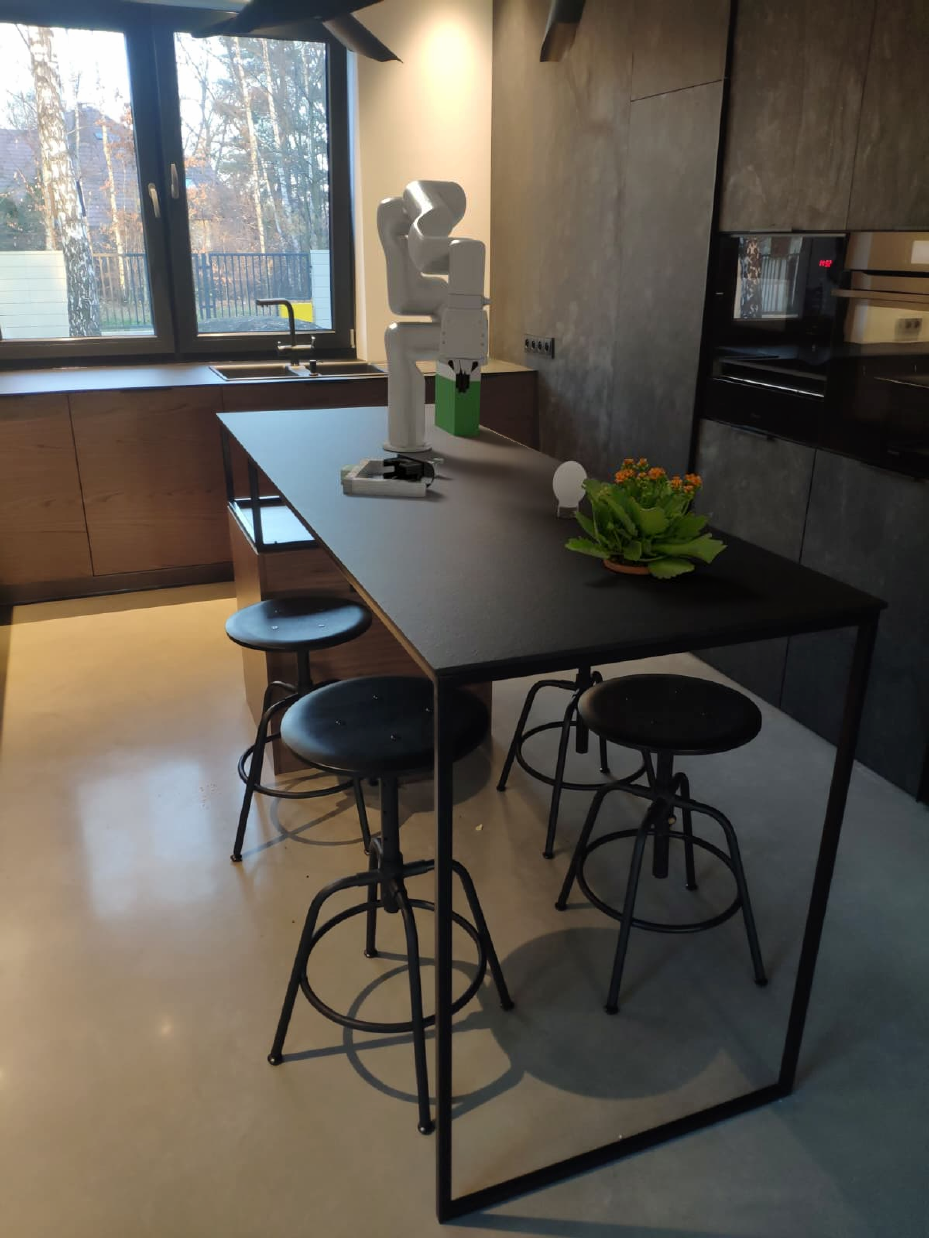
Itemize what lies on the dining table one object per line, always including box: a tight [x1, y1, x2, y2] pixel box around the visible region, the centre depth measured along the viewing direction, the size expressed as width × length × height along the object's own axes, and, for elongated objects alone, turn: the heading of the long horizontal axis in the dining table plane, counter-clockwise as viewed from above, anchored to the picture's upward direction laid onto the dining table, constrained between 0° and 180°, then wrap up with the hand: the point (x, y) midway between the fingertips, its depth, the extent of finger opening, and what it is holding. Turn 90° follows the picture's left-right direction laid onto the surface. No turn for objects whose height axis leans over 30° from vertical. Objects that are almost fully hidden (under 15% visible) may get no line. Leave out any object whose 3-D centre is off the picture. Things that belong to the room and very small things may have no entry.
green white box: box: [434, 359, 482, 437], centre depth 270 cm, size 18×7×24 cm, turn 20°
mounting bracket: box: [340, 457, 444, 498], centre depth 209 cm, size 22×21×4 cm
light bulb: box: [552, 460, 588, 519], centre depth 186 cm, size 7×7×11 cm
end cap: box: [382, 453, 436, 490], centre depth 205 cm, size 10×7×7 cm
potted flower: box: [564, 458, 728, 580], centre depth 156 cm, size 25×24×18 cm
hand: (462, 392), depth 204 cm, fingers closed
